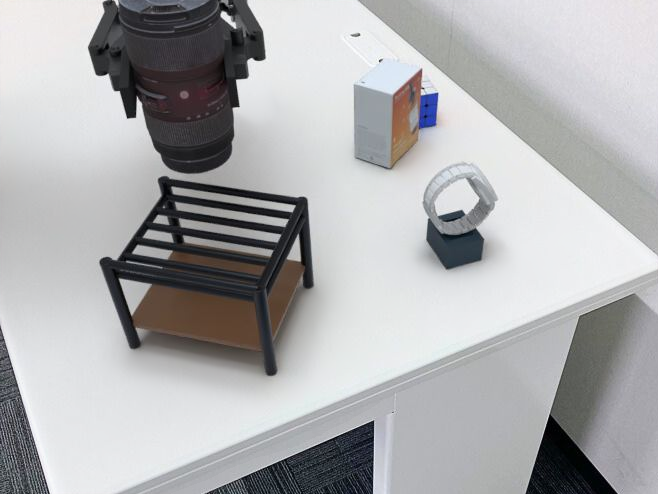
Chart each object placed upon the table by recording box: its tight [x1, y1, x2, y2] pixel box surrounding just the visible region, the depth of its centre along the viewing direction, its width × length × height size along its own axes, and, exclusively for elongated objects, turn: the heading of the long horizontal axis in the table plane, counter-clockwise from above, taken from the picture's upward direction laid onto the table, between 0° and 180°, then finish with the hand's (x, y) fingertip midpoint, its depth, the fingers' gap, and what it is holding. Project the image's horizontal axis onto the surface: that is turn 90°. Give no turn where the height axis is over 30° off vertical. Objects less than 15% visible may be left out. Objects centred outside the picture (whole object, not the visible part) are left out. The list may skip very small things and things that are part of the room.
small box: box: [353, 57, 423, 169], centre depth 95 cm, size 8×6×10 cm
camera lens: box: [117, 0, 235, 175], centre depth 64 cm, size 8×8×15 cm
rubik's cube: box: [419, 74, 439, 129], centre depth 102 cm, size 5×5×5 cm
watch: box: [421, 161, 499, 270], centre depth 81 cm, size 6×8×11 cm
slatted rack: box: [98, 175, 315, 376], centre depth 75 cm, size 16×14×12 cm
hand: (180, 97), depth 60 cm, fingers closed on camera lens, 8 cm apart
